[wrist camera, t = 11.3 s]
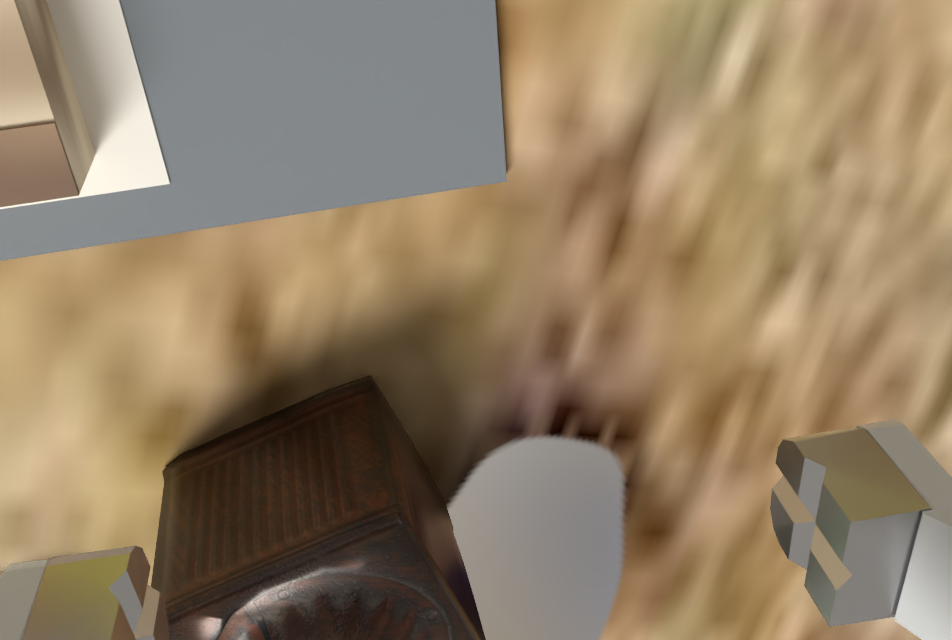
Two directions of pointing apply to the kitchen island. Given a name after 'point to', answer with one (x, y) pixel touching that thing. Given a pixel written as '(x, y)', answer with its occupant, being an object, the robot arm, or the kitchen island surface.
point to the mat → (266, 112)
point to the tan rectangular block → (38, 110)
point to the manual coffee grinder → (311, 532)
